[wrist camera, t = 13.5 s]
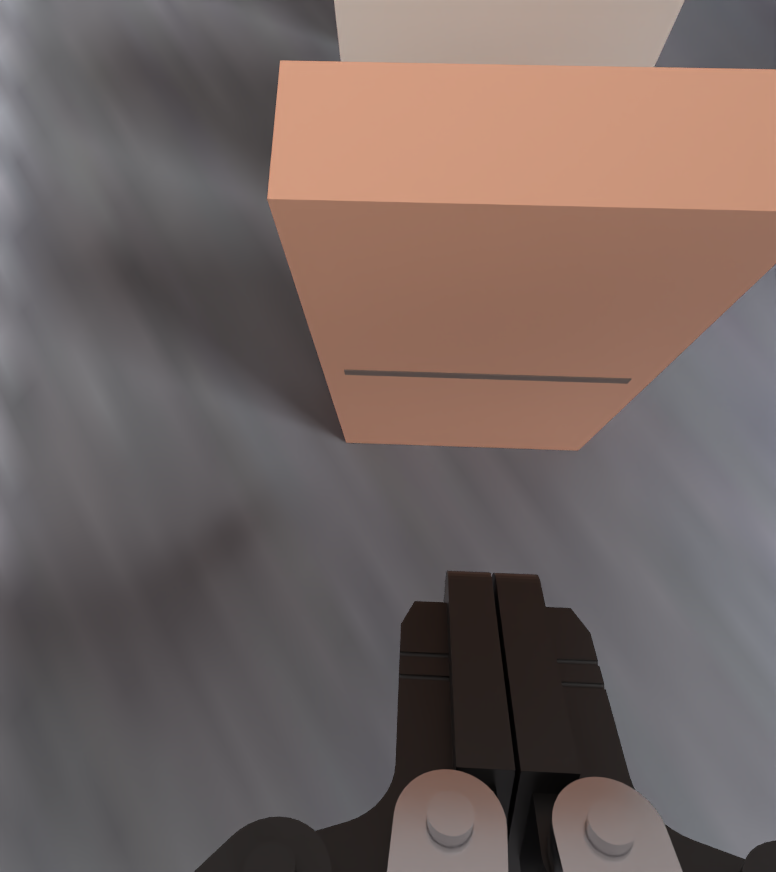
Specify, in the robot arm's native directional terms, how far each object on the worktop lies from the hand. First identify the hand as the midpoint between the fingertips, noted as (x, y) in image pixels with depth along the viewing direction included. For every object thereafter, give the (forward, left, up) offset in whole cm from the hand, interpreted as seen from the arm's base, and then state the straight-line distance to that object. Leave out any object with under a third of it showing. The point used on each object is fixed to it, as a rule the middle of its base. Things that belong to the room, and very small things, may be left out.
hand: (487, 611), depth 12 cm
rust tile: (-2, -4, -5) cm, 8 cm away
